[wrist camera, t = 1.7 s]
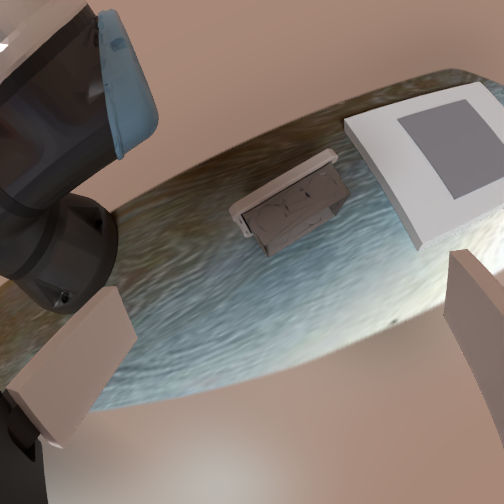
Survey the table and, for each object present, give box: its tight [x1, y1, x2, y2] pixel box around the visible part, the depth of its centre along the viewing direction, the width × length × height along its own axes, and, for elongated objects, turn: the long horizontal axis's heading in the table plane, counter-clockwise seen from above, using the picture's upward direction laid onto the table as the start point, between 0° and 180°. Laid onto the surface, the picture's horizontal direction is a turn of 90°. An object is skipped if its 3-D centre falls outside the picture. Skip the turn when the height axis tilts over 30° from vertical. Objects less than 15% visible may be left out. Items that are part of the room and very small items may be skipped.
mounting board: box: [344, 82, 504, 251], centre depth 29 cm, size 22×16×2 cm
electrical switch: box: [228, 149, 350, 257], centre depth 27 cm, size 9×5×9 cm, turn 119°
